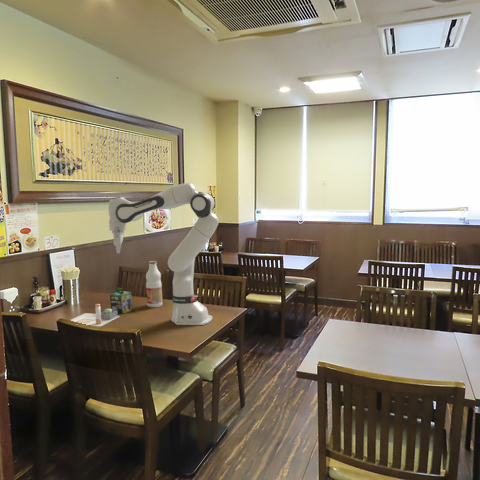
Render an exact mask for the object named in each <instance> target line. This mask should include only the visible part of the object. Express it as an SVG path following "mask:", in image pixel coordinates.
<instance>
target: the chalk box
mask: <svg viewBox="0 0 480 480" xmlns="http://www.w3.org/2000/svg"><path fill="white" fill-rule="evenodd" d="M115 290H116V292H113V293H111V294H109V300H110V309H112V311H117V313H118V314H119V315H120V314H127V313H129V312H132V311H134V307H133V297H132V294H133V293H132V291H123V290H124V289H123V287H116V289H115Z"/></svg>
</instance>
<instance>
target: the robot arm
mask: <svg viewBox="0 0 480 480" xmlns="http://www.w3.org/2000/svg"><path fill="white" fill-rule="evenodd" d="M185 205H190V208H191V210H192V212H194V214H195V215H196V217H198V218H197V220H196V222H195V223H194V224H193V226H192V227H191V228H190V230H189V232H188V233H187V234H186V236H184V238H183V239H182V241H181V242H179V244H178V245H177V246H176V248H175V249H174V250H173V251H172V252H171V254H170V256H168V260H167V266H168V268H169V270H170V271H172V272H173V279H172V315H171V320H170V321H171V322H173V324H174V325H177V326H204V325H207V324H209V323H210V322H211V321H213V315H211V314H209V311H208V309H207V307H206V306H205V305H203V304H202V303H201V302H199V301H198V297H199V295H198V294H197V295H196V294H195V293H194V275H195V274H194V273H195V262H196V261H195V260H196V257H197V256H198V254H200V252H201V251H202V250H203V248H204V247H205V246H206V244H207V243H209V240H210V239H211V238H212V236H213V234H214V233H215V232H216V230H217V228H218V226H219V223H220V220H219V218H218V216H217V215H216V214H214V212H213V210H215V209H214V208H215V207H216V200H215V197H214V196H213V195H212V194H210V193H208V192H202V191H198V190H197V188H196V187H195V186H194V184H193V183H191V182H184V183H180V184H177V185H173V186H171V187H168V188H167V189H166V188H165V189H163V190H162V191H160V192H159V193H156V194H155V195H153V196H151V197H148V198H146V199H143V200H140V201H137V202H132V201H130V200H128V199H126V198H125V197H123V196H118V197H113V198H110V200H109V201H108V216H109V221H108V224H109V225H108V228H109V231H111V234H113V246H115V250H116V252H115V253H116V254H121V251H122V243H123V242H124V241H123V240H124V234H125V231H126V230H127V224H128V223H130V222H136V221H138V220H140V219H142V217H143V215H144V214H145V213H148V212H151V211H155V210H171V209H175V208H179V207H182V206H185Z"/></svg>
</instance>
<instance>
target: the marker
mask: <svg viewBox="0 0 480 480" xmlns="http://www.w3.org/2000/svg"><path fill="white" fill-rule="evenodd" d="M94 306H95V308H94V309H95V314H96V324H101V323H102V320H101V313H102V312H101V311H102V310H101V304H100V303H95V304H94Z"/></svg>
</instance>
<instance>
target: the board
mask: <svg viewBox="0 0 480 480" xmlns="http://www.w3.org/2000/svg"><path fill="white" fill-rule="evenodd" d="M118 314H119V313H117V311H112V313H110V314H105V310H103V311H102V312H101V320H102V323H101V324H96V313H91V312H90V313H87V312H85V313H82V314H80V315H78V316H75V317H74V318H71V319H70V320H71V321H74V322H78V323H82V324H86V325H85V326H89V325H90V326H92V327H103V326H104V325H107V324H109V323H110V322H112V321H113V320H116V319H117V318H120V317H121V315H118Z"/></svg>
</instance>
